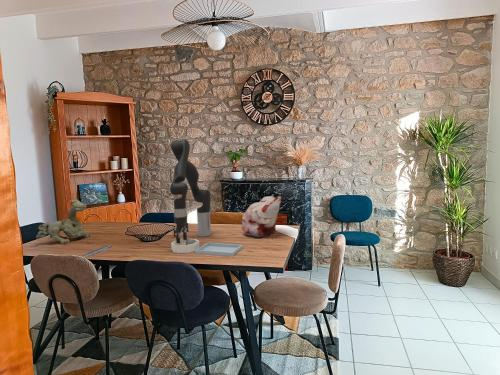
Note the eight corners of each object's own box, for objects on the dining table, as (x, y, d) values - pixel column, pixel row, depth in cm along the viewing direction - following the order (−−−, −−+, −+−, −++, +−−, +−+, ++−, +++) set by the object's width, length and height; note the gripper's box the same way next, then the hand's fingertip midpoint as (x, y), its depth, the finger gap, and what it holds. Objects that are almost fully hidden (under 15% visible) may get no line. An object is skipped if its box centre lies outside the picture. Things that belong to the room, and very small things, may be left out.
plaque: (82, 262, 210) (82, 261, 210) (69, 261, 213) (69, 260, 213) (118, 247, 241) (118, 246, 241) (106, 246, 244) (106, 245, 244)
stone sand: (180, 248, 228) (180, 241, 227) (186, 249, 227) (186, 241, 226) (176, 251, 224) (176, 243, 223) (183, 251, 222) (182, 243, 222)
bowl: (180, 246, 238) (180, 238, 237) (202, 247, 233) (202, 239, 232) (167, 253, 223) (167, 244, 222) (191, 254, 218) (190, 246, 217)
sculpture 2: (233, 236, 259) (233, 194, 255) (252, 227, 284) (252, 189, 280) (273, 242, 244) (275, 198, 240) (289, 233, 270) (291, 193, 266)
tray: (207, 246, 235) (207, 242, 235) (243, 248, 228) (242, 244, 227) (195, 254, 218) (194, 250, 218) (232, 257, 211) (232, 252, 210)
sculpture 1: (74, 246, 242) (60, 203, 238) (41, 254, 248) (26, 211, 244) (100, 233, 270) (88, 194, 267) (70, 240, 276) (57, 202, 272)
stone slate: (187, 246, 233) (188, 238, 233) (193, 247, 231) (194, 239, 232) (183, 246, 229) (185, 238, 229) (190, 247, 227) (191, 239, 227)
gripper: (180, 213, 231) (181, 238, 233) (168, 217, 218) (170, 244, 219) (191, 213, 229) (192, 239, 230) (180, 218, 215) (181, 245, 217)
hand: (181, 241), depth 225 cm, fingers open, 8 cm apart
